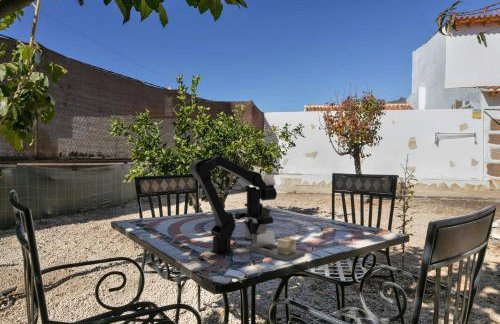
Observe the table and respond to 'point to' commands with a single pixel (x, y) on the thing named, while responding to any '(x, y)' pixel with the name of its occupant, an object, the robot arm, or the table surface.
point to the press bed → (275, 252)
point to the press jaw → (262, 238)
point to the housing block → (286, 245)
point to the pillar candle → (260, 229)
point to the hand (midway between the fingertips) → (253, 237)
